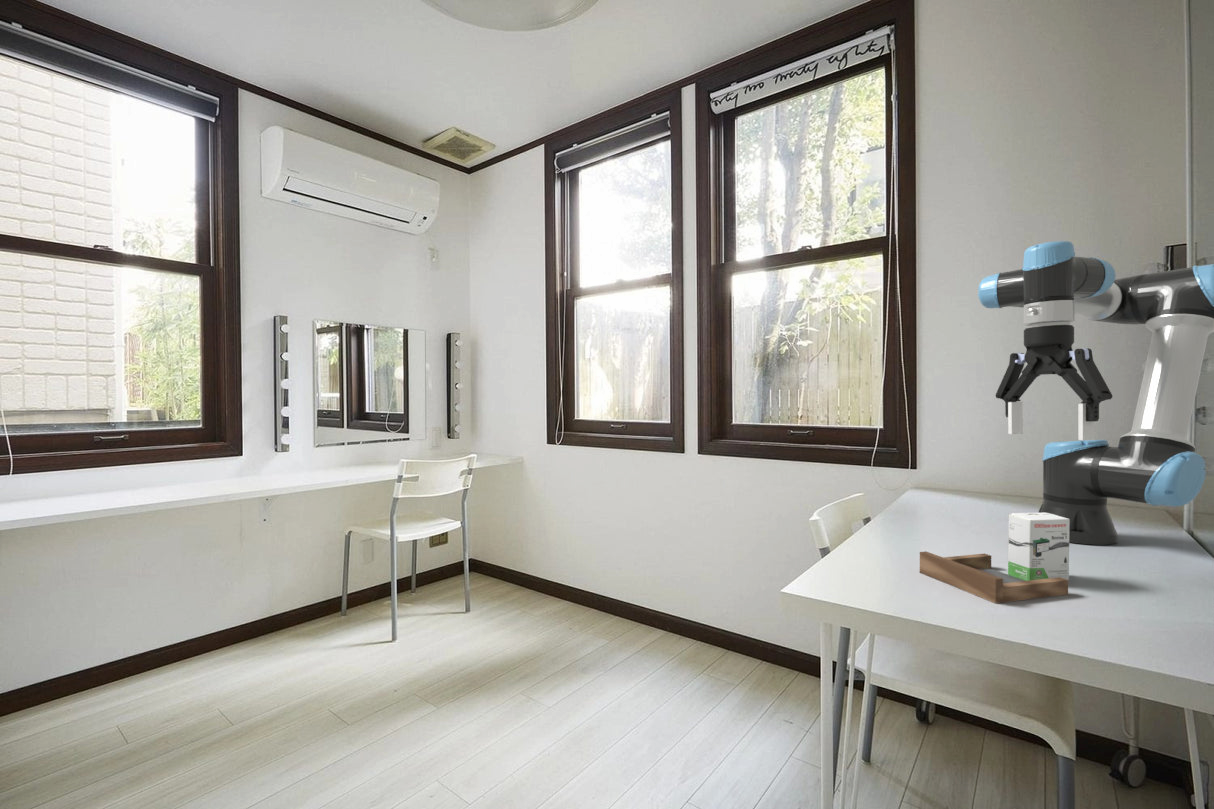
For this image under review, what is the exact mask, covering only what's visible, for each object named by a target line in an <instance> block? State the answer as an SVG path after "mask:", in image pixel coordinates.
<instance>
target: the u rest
mask: <svg viewBox="0 0 1214 809" xmlns="http://www.w3.org/2000/svg"><path fill="white" fill-rule="evenodd" d="M919 573H920V574H922V575H925V576H927V577H929V578H933V579H935V580H937V581H939V582H942V583H945V584H948V585H950V586H951V587H954V588H957V589H959V590H961V591H964V592H967V593H970V594H972V595H974V596H977V597H979V598H981V599H985V600H987V601H989V602H991V603H994V604H1001V603H1008V602H1009V603H1010V602H1016V601H1017V602H1018V601H1025V600H1026V601H1027V600H1034V599H1035V600H1036V599H1040V598H1041V599H1042V598H1051V597H1059V596H1066V595H1069V581H1068V580H1067V579H1063V578H1060V577H1057V578H1048V579H1039V580H1030V581H1025V580H1022V579H1019V578H1016V577H1013V576H1011V575H1008V573H1004V572H1003V571H1002V572H1001V571H998V570H995V569H993V568H992V555H990V554H987V553H977V554H975V553H974V554H966V555H965V554H964V555H956V556H955V555H954V556H945V557H943V556H940V555H937V554H935V553H932V552H929V551H919Z"/></svg>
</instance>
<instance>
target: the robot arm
mask: <svg viewBox="0 0 1214 809" xmlns="http://www.w3.org/2000/svg"><path fill="white" fill-rule="evenodd" d="M1074 245H1075V244H1073V242H1072V241H1067V240H1058V241H1047V242H1042V243H1037V244H1034V245H1032V246H1029V247H1028V248H1027V249H1025V251H1024V253H1023V262H1022V263H1023V264H1022V268H1021V269H1016V270H1010V271H1004V272H998V273H996V274H992V275H987V276H986V277H984V278H983V279H982V280H981V281H980V283H979V285H978V287H977V288H978V293H977V297H978V299H979V302H980V304H981V305H982V306H983V307H984V308H986V309H1003V308H1007V307H1008V308H1009V307H1010V308H1011V307H1012V308H1013V307H1014V308H1023V325H1024V326H1026V327H1027V328H1025V329H1023V346H1024V347H1025V349H1026V352H1025V353H1024V352H1013V353H1011V354H1010V355H1009V363H1008V366H1007V368H1006V370H1005V372H1004V375H1003V377H1002V379H1001V381H1000V384H999V385H998V389H997V390H996V393H995V398H996V399H999V400H1003V401H1004V402H1005V411H1004V412H1005V413H1004V415H1005V417H1006V418H1008V420H1007V422H1008V424H1007V428H1008V430H1007V431H1008V432H1007V434H1008V435H1019V434H1020V435H1021V434H1022V435H1023V426H1024V425H1023V422H1024V421H1023V416H1024V415H1023V401H1021V400H1022V399H1020V398H1021V397H1022V396H1023V395H1024V394H1025V393H1026V391H1027V390H1028V388H1029V387H1030V386H1031V385H1032V384H1033V382H1035V380H1036V379H1037V378H1038V377H1040V376H1042V375H1057V376H1059V377H1061V378H1062V379H1063V380H1064V381H1065V382H1066V384H1067V385H1068V386H1069V387H1070V388H1071V389H1072V391H1074V393H1075V394H1076V395H1077V396H1078V397H1079V398H1080V400H1082V401H1081V402H1080V403H1078V405H1077V407H1078V412H1077V413H1078V414H1077V417H1078V418H1077V419H1078V424H1077V425H1078V430H1077V431H1078V432H1077V433H1078V434H1077V435H1078V437H1077V438H1078V440H1067V441H1064V440H1063V441H1052V442H1051V441H1050V442H1048V443H1047V444H1046V445H1045V446H1044V448H1043V455H1042V456H1043V457H1042V461H1041V462H1042V484H1043V485H1042V496H1043V497H1042V503H1041V505H1040V508H1039V510H1038V511H1037V513H1043V512H1044V513H1050V514H1054V515H1057V516H1061V517H1064V518H1068V519H1070V522H1069V523H1070V524H1069V543H1073V544H1083V545H1093V546H1095V545H1097V546H1100V545H1101V546H1103V545H1106V546H1107V545H1114V544H1117V541H1118V532H1117V530H1116V528H1115V525H1114V522H1113V519H1112V517H1111V514H1110V512H1109V509H1108V499H1114V500H1120V501H1128V502H1136V503H1142V504H1147V505H1148V504H1149V505H1152V506H1165V507H1175V508H1176V507H1183V506H1186V505H1188V504H1189V503H1190V502H1192V501H1193V500H1195V498H1196V497H1197V496H1198V494H1199V493H1200V492H1201V490H1202V488H1203V485H1204V482H1205V478H1206V473H1207V472H1206V470H1205V469H1206V463H1205V459H1204V458H1203V457H1202V456H1201V455H1200V454H1198V453H1196V452H1195V450H1196V446H1195V445H1194V444H1193V443H1192V442H1191V441H1190V440H1189V439H1188V433H1189V428H1190V424H1191V419H1192V414H1193V409H1194V404H1195V400H1196V397H1197V396H1196V395H1197V390H1198V385H1199V382H1200V378H1201V377H1200V376H1201V371H1202V367H1203V363H1204V362H1203V361H1204V356H1205V351H1206V347H1207V343H1208V342H1207V341H1208V338H1209V335H1210V334H1212V333H1214V263H1213V264H1203V265H1197V264H1196V265H1193V266H1192V267H1190V266H1189V267H1185V268H1178V269H1172V270H1171V269H1170V270H1165V271H1158V272H1152V273H1146V274H1139V275H1132V276H1127V277H1122V278H1117V279H1116V270H1115V268H1114V266H1113V265H1112V264H1111V263H1110V262H1108V261H1106V260H1104V259H1099V258H1096V257H1093V256H1091V257H1085V256H1083V257H1082V256H1076V252H1075V246H1074ZM1075 315H1078V316H1079V317H1080V318H1082V319H1084V320H1088V321H1095V322H1102V323H1109V324H1118V325H1120V324H1121V325H1144V326H1145V328H1146V329H1148V331H1150V332H1151V334H1152V335H1151V339H1150V344H1149V347H1148V352H1147V353H1148V354H1147V358H1146V363H1145V366H1144V372H1143V376H1142V381H1141V385H1140V388H1139V389H1140V391H1139V394H1138V398H1137V403H1136V408H1135V412H1134V417H1133V421H1132V426H1131V430H1130V431H1129V432H1127V433H1125V434H1122V435H1121V436H1120V437H1119V441H1118V446H1110V444H1109V442H1108V440H1107V439H1096V434H1095V432H1096V425H1095V424H1096V422H1099V419H1100V403H1102V402H1105V401H1107V400H1111V399H1113V394H1112V392H1111V390H1110V388H1109V387H1108V384H1107V383H1106V381H1105V378H1103V376H1102V374H1101V371H1099V368H1098V367H1097V364H1096V363H1095V361H1094V357H1093V350H1092V349H1091V348H1086V347H1085V348H1075V350H1073V344H1074V343H1075V326H1073V325H1072V324H1071V323H1073V322H1075ZM1072 361H1075V364H1076V366H1077V368H1078V369H1077V368H1076V367H1075V365H1073V364H1072V363H1071V362H1072ZM1026 363H1027V365H1025V364H1026ZM1078 370H1079V372H1080V373H1081V375H1080V374H1079V373H1078Z"/></svg>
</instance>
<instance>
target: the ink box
mask: <svg viewBox="0 0 1214 809" xmlns="http://www.w3.org/2000/svg"><path fill="white" fill-rule="evenodd" d="M1069 522H1070V519H1068V518H1064V517H1061V516H1057V515H1054V514H1050V513H1044V512H1043V513H1038V512H1012V513H1010V514H1009V515H1008V554H1007V555H1008V558H1007V559H1008V560H1007V561H1008V564H1007V574H1008V575H1011V576H1013V577H1016V578H1019V579H1022V580H1025V581H1030V580H1039V579H1048V578H1057V577H1060V578H1063V579H1067V580H1068V582H1070V542H1069V524H1070V523H1069Z"/></svg>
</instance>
